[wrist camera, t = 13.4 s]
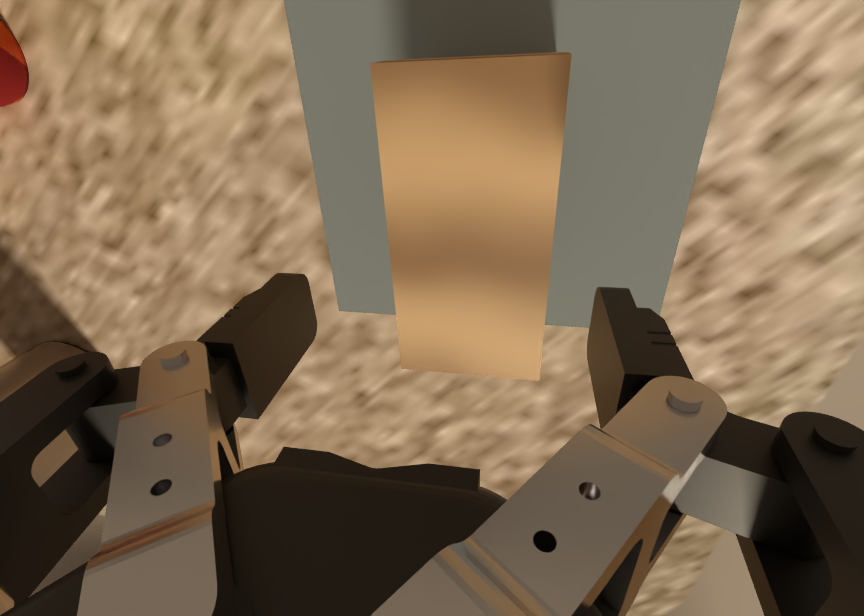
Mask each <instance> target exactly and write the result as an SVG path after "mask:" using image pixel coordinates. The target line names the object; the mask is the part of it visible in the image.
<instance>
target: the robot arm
mask: <svg viewBox="0 0 864 616" xmlns="http://www.w3.org/2000/svg"><path fill="white" fill-rule="evenodd" d="M316 331H317V320H316V315H315V310H314V305H313V301H312V296H311V291H310V286H309V282H308V279H307V277H306V276H305V275H304V274H293V273H277V274H275V275H274V276H273V277H272V278H271V279H270V280H269V281H268V282H267V283H266V284H265V285H264V286H263V287H262V288H260V289H258V290H256V291H254V292H252V293H251V294H249V295H247V296H245V297H243V298H242V299H241V300H240V301H239V302H238V303H237V304H236V305H235V306H234V307H233V309H230V310H229V311H228V312H227V313H226V314H225V315H224V317H222V318H221V319H219V320H218V321H217V322H216V323H215V324H214V325H213V326H212V327H211V328H210V329H209V330H207V331H206V332H205V333H204V334H203V335H202V336H201V337H200V338H199V339H198V340H197V341H180V342H175V343H172V344H169V345H166V346H163V347H161V348H159V349H157V350H155V351H154V352H152V353H151V354H149V355H148V356H147V357H146V358H145V359H144V360H143V361H142V363H141V366H137V367H130V368H122V369H115V370H114V368H113V366H112V365H111V363H110V361H109V359H108V357H107V356H106V355H105V354H103V353H100V352H87V353H86V352H85V351H83V350H81V349H78V348H76V347H74V346H71V345H68V344H64V343H60V342H47V343H43V344H41V345H39V346H37V347H35V348H34V349H32V350H31V351H29V352H23V353H22V354H20V355H19V356H17V357H15V358H14V359H12V360H11V361H9V362H7V363H6V364H4V365H2V366H1V367H0V616H626V614H627V613H628V611H629V609H630V607H631V605H632V604H633V602H634V600H635V598H636V596H637V594H638V592H639V589H640V587H641V586H642V584H643V582H644V580H645V578H646V577H647V575H648V573H649V572H650V570H651V569H652V567H653V566H654V564H655V563H656V561H657V560H658V558H659V557H660V555H661V553H662V552H663V550H664V549H665V547H666V546H667V544H668V543H669V541H670V540H671V538H672V537H673V535H674V534H675V532H676V531H677V529H678V527H679V526H680V524H681V523H682V521H683V520H684V518H685V517H686V515H689V516H692V517H695V518H697V519H700V520H702V521H705V522H708V523H710V524H713V525H715V526H718V527H720V528H723V529H726V530H728V531H731V532H733V533H736V536H737V539H738V542H739V545H740V547H741V550H742V553H743V556H744V559H745V562H746V564H747V567H748V570H749V573H750V576H751V579H752V581H753V584H754V587H755V590H756V593H757V596H758V598H759V601H760V604H761V607H762V610H763V612H764V615H765V616H864V431H863V430H861V429H859V428H858V427H856V426H854V425H852V424H850V423H848V422H846V421H843V420H841V419H839V418H835V417H833V416H829V415H825V414H821V413H815V412H796V413H792V414H790V415H788V416H786V417H785V418H784V420H783V421H782V423H781V426H780V428H778V427H774V426H771V425H767V424H763V423H760V422H756V421H753V420H749V419H746V418H743V417H740V416H737V415H734V414H732V413H729V412H727V407H726V404H725V402H724V401H723V399H722V398H721V397H720V396H719V395H718V394H717V393H716V392H715V391H713V390H712V389H711V388H709V387H707V386H706V385H704V384H702V383H700V382H697V381H695V380H694V379H693V377H692V375H691V373H690V371H689V369H688V367H687V365H686V363H685V361H684V359H683V357H682V355H681V353H680V351H679V348H678V346H676V342H675V340H674V338H673V336H672V335H671V332H670V330H669V328H668V326H667V324H666V322H665V320H664V319H663V318H662V317H660V316H659V315H658V314H657V313H655V312H654V311H653V310H652V309H650V308H637V306H636V304H635V302H634V299H633V297H632V294H631V292H630V290H629V288H615V287H597V289H596V292H595V297H594V303H593V309H592V316H591V322H590V328H589V334H588V342H587V359H588V365H589V370H590V375H591V381H592V386H593V391H594V396H595V402H596V407H597V412H598V417H599V423H600V428H601V429H599V428H597V427H595V426H594V425H591V424H589V425H587V426H585V427H583V428H582V429H581V430H580V431H579V432H578V433H577V434H576V435H575V436H574V437H573V438H572V439H571V440H570V441H569V442H567V443H566V444H565V445H564V446H563V447H562V448H561V449H560V450H559V451H558V452H557V453H556V454H555V455H554V456H553V457H552V458H551V459H550V460H549V461H548V462H547V463H546V464H545V465H544V466H543V467H542V468H540V469H539V470H538V471H537V472H536V473H535V474H534V475H533V476H532V477H531V478H530V479H529V480H528V481H527V482H526V483H525V484H524V485H523V486H522V487H521V488H520V489H519V490H518V491H517V492H516V493H515V494H513V495H512V496H511V497H510V498H509V499H508V500H506V499H505V498H503V497H502V496H500V495H498V494H496V493H494V492H492V491H490V490H488V489H486V488H483V487H480V469H471V468H462V467H454V466H445V465H436V464H420V465H410V466H399V467H389V468H378V469H376V468H370V467H367V466H365V465H362V464H359V463H357V462H354V461H351V460H349V459H346V458H343V457H341V456H338V455H336V454H333V453H330V452H324V451H316V450H307V449H298V448H290V447H283V449H282V451H281V452H280V454H279V456H278V457H277V459H276V461H275V462H273V463H267V464H262V465H257V466H254V467H251V468H248V469H245V470H244V467H243V461H242V455H241V450H240V444H239V438H238V432H237V429H236V427H235V424H234V422H235V421H236V420H237V419H238V417H242V418H252V419H259V417H260V416H261V415H262V413H263V412H264V410H265V409H266V408H267V406H268V405H269V403H270V402H271V400H272V399H273V398H274V396H275V395H276V393H277V392H278V390H279V389H280V388H281V386H282V385H283V383H284V382H285V381H286V379H287V378H288V376H289V375H290V373H291V372H292V371H293V369H294V368H295V366H296V365H297V363H298V362H299V361H300V359H301V358H302V356H303V355H304V354H305V352H306V351H307V349H308V348H309V346H310V345H311V344H312V342H313V341H314V338H315V336H316ZM106 504H107V507H106V514H105V521H104V528H103V534H102V542H101V547H100V550H99V552H98V553H97V554H96V555H95V556H93V557H92V558H91V559H90V560H89V561H88V562H87V563H85V564H83V565H81V566H80V567H78V568H77V569H75V570H73V571H72V572H70V573H68V574H67V575H65V576H63V577H62V578H60V579H59V580H57V581H55V582H54V583H52V584H50V585H49V586H47V587H45V588H44V589H42V590H41V591H39V592H37V593H35V594H34V595H32V596H31V597H29V596H30V595H31V594H32V592H33V591H34V590H35V589H36V587H38V585H39V584H40V583H41V582H42V580H43V579H44V578H45V577H46V576H47V575H48V573H49V572H50V571H51V570H52V568H53V567H54V566H55V565H56V564H57V563H58V561H59V560H60V559H61V558H62V557H63V555H64V554H65V553H66V552H67V550H68V549H69V548H70V547H71V545H73V543H74V542H75V541H76V540H77V538H78V537H79V536H80V535H81V534H82V533H83V531H84V530H85V529H86V528H87V527H88V525H89V524H90V523H91V522H92V521H93V519H94V518H95V517H96V516H97V515H98V513H99V512H100V511H101V510H102V509H103V507H104V506H105V505H106ZM28 597H29V598H28Z"/></svg>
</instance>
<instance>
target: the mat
mask: <svg viewBox="0 0 864 616" xmlns="http://www.w3.org/2000/svg"><path fill="white" fill-rule="evenodd" d="M740 1H741V0H284V3H285V9H286V14H287V20H288V26H289V31H290V37H291V43H292V48H293V54H294V59H295V65H296V71H297V76H298V82H299V87H300V93H301V99H302V104H303V110H304V116H305V121H306V127H307V132H308V138H309V144H310V149H311V155H312V160H313V166H314V172H315V177H316V183H317V189H318V194H319V200H320V205H321V211H322V217H323V222H324V228H325V234H326V239H327V245H328V250H329V256H330V262H331V267H332V273H333V278H334V284H335V290H336V295H337V301H338V307H339V311H348V312H363V313H378V314H393V315H396V310H395V300H394V290H393V281H392V271H391V262H390V252H389V242H388V233H387V223H386V213H385V204H384V194H383V184H382V175H381V165H380V156H379V146H378V136H377V127H376V117H375V107H374V98H373V88H372V78H371V69H370V63H374V62H380V61H386V60H402V59H423V58H445V57H466V56H488V55H509V54H531V53H552V52H569V53H571V54H572V57H571V67H570V77H569V87H568V97H567V107H566V117H565V127H564V137H563V147H562V157H561V167H560V177H559V187H558V197H557V207H556V217H555V227H554V237H553V247H552V257H551V267H550V277H549V287H548V296H547V306H546V316H545V325H556V326H571V327H586V328H590V322H591V316H592V309H593V303H594V297H595V292H596V289H597V287H615V288H629V290H630V292H631V294H632V297H633V299H634V302H635V304H636V306H637V308H650V309H652V310H653V311H654V312H655V313H657V314H658V315H660V311H661V308H662V304H663V300H664V296H665V292H666V288H667V284H668V280H669V277H670V273H671V269H672V265H673V261H674V257H675V253H676V249H677V246H678V242H679V238H680V234H681V230H682V226H683V222H684V218H685V215H686V211H687V207H688V203H689V199H690V195H691V191H692V187H693V184H694V180H695V176H696V172H697V168H698V164H699V160H700V156H701V153H702V149H703V145H704V141H705V137H706V133H707V129H708V125H709V122H710V118H711V114H712V110H713V106H714V102H715V98H716V94H717V91H718V87H719V83H720V79H721V75H722V71H723V67H724V63H725V60H726V56H727V52H728V48H729V44H730V40H731V36H732V32H733V29H734V25H735V21H736V17H737V13H738V9H739V5H740Z"/></svg>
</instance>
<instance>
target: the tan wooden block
mask: <svg viewBox="0 0 864 616" xmlns="http://www.w3.org/2000/svg"><path fill="white" fill-rule="evenodd" d="M571 57H572V54H571V53H569V52H552V53H531V54H509V55H488V56H466V57H445V58H423V59H402V60H386V61H380V62H374V63H370V69H371V78H372V88H373V98H374V107H375V117H376V127H377V136H378V146H379V156H380V165H381V175H382V184H383V194H384V204H385V213H386V223H387V233H388V242H389V252H390V262H391V271H392V281H393V290H394V300H395V310H396V319H397V329H398V339H399V348H400V358H401V367H402V369H412V370H424V371H435V372H446V373H457V374H469V375H480V376H491V377H502V378H514V379H525V380H536V381H539V376H540V366H541V356H542V346H543V336H544V326H545V316H546V306H547V296H548V287H549V277H550V267H551V257H552V247H553V237H554V227H555V217H556V207H557V197H558V187H559V177H560V167H561V157H562V147H563V137H564V127H565V117H566V107H567V97H568V87H569V77H570V67H571Z"/></svg>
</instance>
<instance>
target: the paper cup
mask: <svg viewBox="0 0 864 616" xmlns="http://www.w3.org/2000/svg"><path fill="white" fill-rule="evenodd" d="M28 83H29V75H28V68H27V64H26V61H25V58H24V55H23V53H22V51H21V48H20V46H19V45H18V43H17V41H16V39H15V38H14V36H13V35H12V33H11V32H10V30H9V29H8V28H7V27H6V25H5V24H4V23H3V22H2V21H1V20H0V107H3V106H6V105H10V104H13V103H16V102H18V101H20V100H21V99H22V98H23V97H24V96H25V94H26V92H27V89H28Z"/></svg>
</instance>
